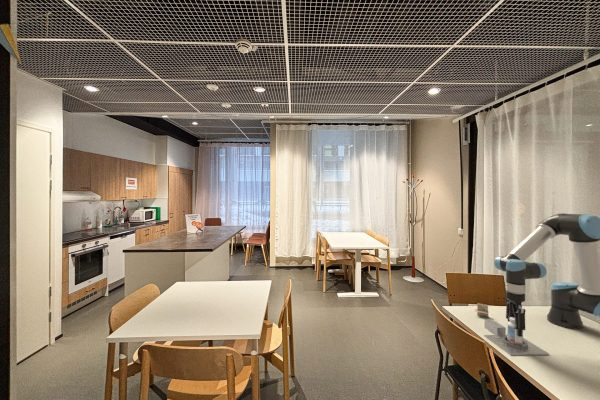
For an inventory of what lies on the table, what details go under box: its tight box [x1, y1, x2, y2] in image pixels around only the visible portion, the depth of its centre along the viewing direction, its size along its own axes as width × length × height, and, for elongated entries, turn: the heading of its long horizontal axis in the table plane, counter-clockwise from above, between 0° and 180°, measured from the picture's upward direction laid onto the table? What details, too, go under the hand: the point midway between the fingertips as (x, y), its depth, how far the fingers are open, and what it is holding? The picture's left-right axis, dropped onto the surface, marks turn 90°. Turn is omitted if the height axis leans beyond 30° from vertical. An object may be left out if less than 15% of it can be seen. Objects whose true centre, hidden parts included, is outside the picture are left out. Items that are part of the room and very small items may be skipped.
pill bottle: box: [506, 317, 524, 344], centre depth 138 cm, size 6×6×11 cm
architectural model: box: [474, 302, 489, 318], centre depth 172 cm, size 3×7×7 cm, turn 56°
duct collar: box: [483, 318, 550, 356], centre depth 143 cm, size 18×28×4 cm, turn 1°
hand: (515, 338), depth 138 cm, fingers closed on pill bottle, 6 cm apart
